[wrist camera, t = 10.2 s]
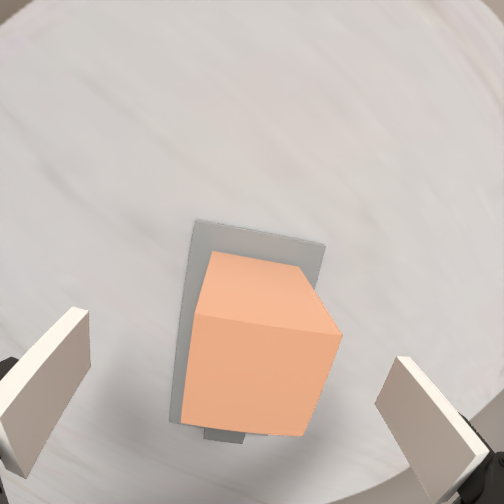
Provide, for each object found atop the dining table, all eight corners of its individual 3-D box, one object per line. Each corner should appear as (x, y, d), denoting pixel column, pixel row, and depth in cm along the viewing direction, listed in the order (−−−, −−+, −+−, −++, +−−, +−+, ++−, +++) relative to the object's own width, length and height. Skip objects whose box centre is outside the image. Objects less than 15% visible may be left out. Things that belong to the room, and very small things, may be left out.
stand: (170, 416, 23) (151, 505, 14) (196, 219, 19) (164, 258, 11) (267, 430, 24) (278, 518, 15) (323, 244, 20) (383, 297, 11)
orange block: (199, 329, 20) (180, 422, 12) (212, 250, 19) (194, 313, 10) (279, 341, 20) (302, 436, 12) (298, 266, 19) (342, 335, 11)
